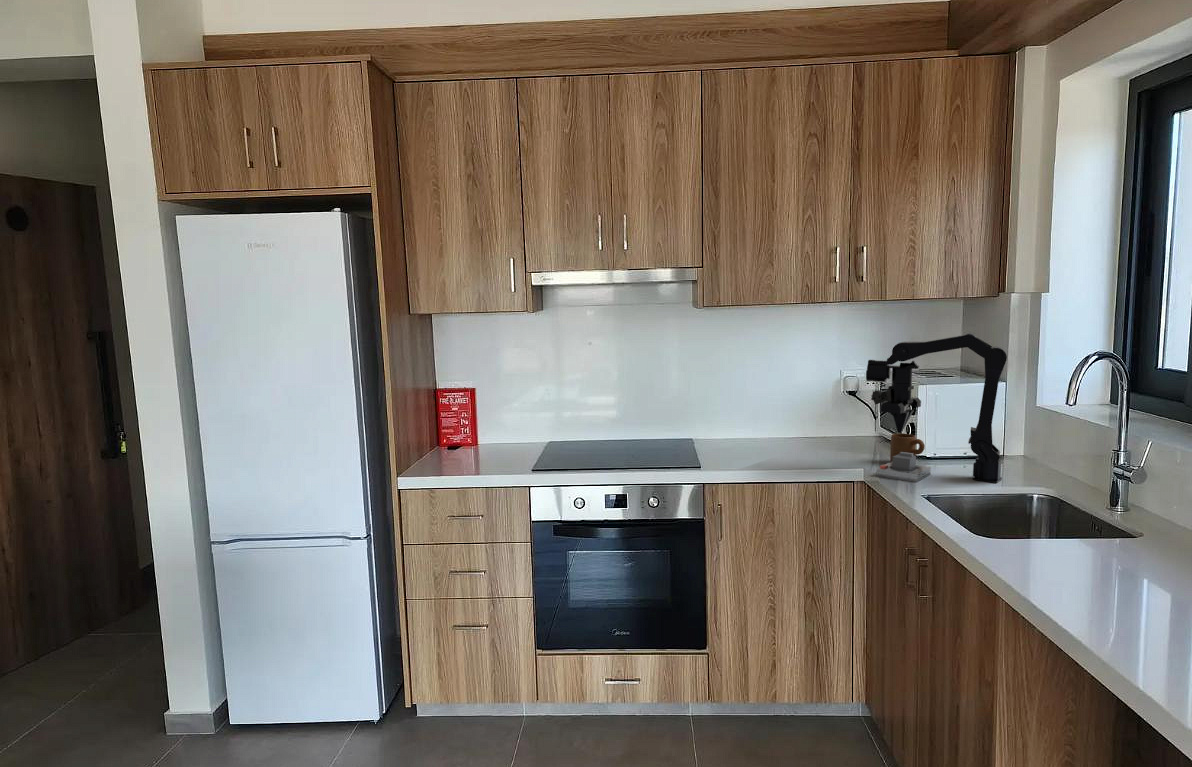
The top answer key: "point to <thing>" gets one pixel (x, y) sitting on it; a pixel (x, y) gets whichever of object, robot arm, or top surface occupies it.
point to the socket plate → (904, 473)
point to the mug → (905, 444)
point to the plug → (904, 461)
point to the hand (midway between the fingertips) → (899, 432)
